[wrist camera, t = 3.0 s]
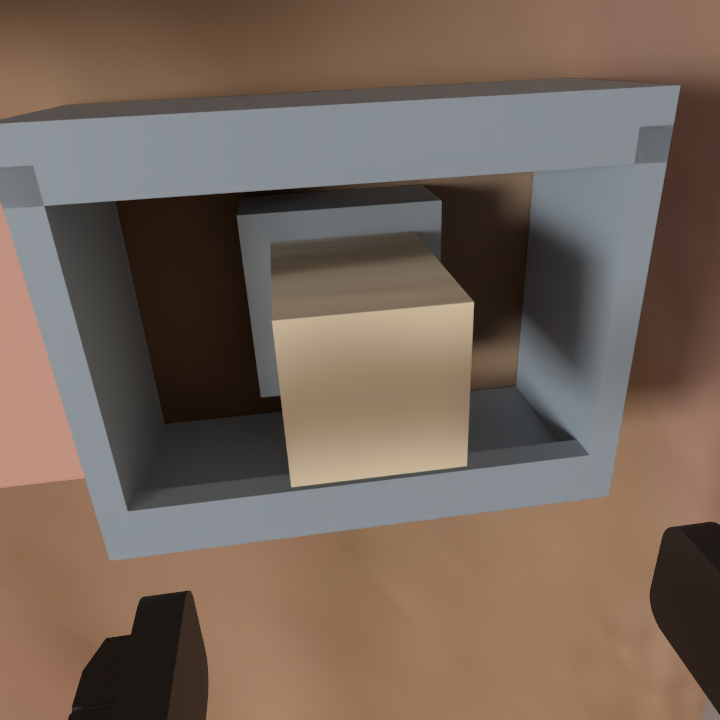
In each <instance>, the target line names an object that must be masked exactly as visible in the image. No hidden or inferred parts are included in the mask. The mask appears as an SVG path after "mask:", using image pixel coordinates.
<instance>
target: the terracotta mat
mask: <svg viewBox="0 0 720 720" xmlns="http://www.w3.org/2000/svg"><path fill="white" fill-rule="evenodd" d="M81 478H85V476H84V473H83V470H82V467H81V463H80V460H79V457H78V453H77V450H76V447H75V444H74V440H73V437H72V434H71V430H70V427H69V424H68V421H67V417H66V414H65V411H64V407H63V404H62V401H61V398H60V394H59V391H58V388H57V384H56V381H55V378H54V374H53V371H52V368H51V365H50V361H49V358H48V355H47V351H46V348H45V345H44V342H43V338H42V335H41V332H40V328H39V325H38V322H37V319H36V315H35V312H34V309H33V305H32V302H31V299H30V296H29V292H28V289H27V286H26V282H25V279H24V276H23V272H22V269H21V266H20V263H19V259H18V256H17V253H16V249H15V246H14V243H13V240H12V236H11V233H10V230H9V226H8V223H7V220H6V217H5V213H4V210H3V207H2V203H1V200H0V488H3V487H12V486H20V485H29V484H37V483H46V482H55V481H63V480H72V479H81Z"/></svg>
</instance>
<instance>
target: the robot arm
mask: <svg viewBox="0 0 720 720" xmlns="http://www.w3.org/2000/svg"><path fill="white" fill-rule="evenodd" d="M650 603H651V608H652V612H653V615H654V618H655V620H656V622H657V624H658V626H659V628H660V630H661V631H662V633H663V634H664V635H665V637H666V638H667V640H668V641H669V643H670V644H671V645H672V647H673V648H674V650H675V651H676V653H677V654H678V656H679V657H680V658H681V660H682V661H683V663H684V664H685V666H686V667H687V668H688V670H689V671H690V673H691V674H692V676H693V677H694V678H695V680H696V681H697V683H698V684H699V686H700V687H701V689H702V690H703V691H704V693H705V694H706V696H707V697H708V699H709V700H710V701H711V703H712V704H713V706H714V707H715V709H716V710H717V711H718V713H719V714H720V525H719V524H717V523H715V522H705V523H698V524H691V525H683V526H676V527H669V528H667V529H666V530H665V532H664V534H663V537H662V541H661V545H660V549H659V554H658V558H657V562H656V567H655V571H654V575H653V580H652V584H651V588H650ZM207 701H208V665H207V657H206V651H205V647H204V642H203V638H202V633H201V629H200V625H199V620H198V616H197V611H196V607H195V602H194V598H193V595H192V593H191V591H183V592H176V593H168V594H161V595H154V596H146V597H142V598H141V599H140V601H139V604H138V607H137V611H136V615H135V619H134V624H133V628H132V632H131V635H126V636H119V637H112V638H106V639H105V641H104V642H103V643H102V645H101V646H100V648H99V649H98V650H97V652H96V653H95V655H94V656H93V657H92V659H91V660H90V661H89V663H88V664H87V666H86V667H85V668H84V670H83V672H82V675H81V678H80V682H79V685H78V688H77V692H76V695H75V698H74V702H73V705H72V714H70V715H69V718H68V720H206V712H207Z"/></svg>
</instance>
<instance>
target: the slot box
mask: <svg viewBox="0 0 720 720" xmlns="http://www.w3.org/2000/svg"><path fill="white" fill-rule="evenodd" d="M680 86H681V85H671V84H655V83H639V82H624V81H608V80H592V79H576V78H557V79H538V80H520V81H501V82H483V83H464V84H446V85H427V86H409V87H390V88H372V89H353V90H335V91H317V92H298V93H280V94H261V95H243V96H224V97H206V98H187V99H169V100H150V101H132V102H114V103H95V104H77V105H62V106H58V107H54V108H49V109H45V110H41V111H36V112H32V113H27V114H23V115H19V116H14V117H10V118H6V119H1V120H0V200H1V203H2V207H3V210H4V213H5V217H6V220H7V223H8V226H9V230H10V233H11V236H12V240H13V243H14V246H15V249H16V253H17V256H18V259H19V263H20V266H21V269H22V272H23V276H24V279H25V282H26V286H27V289H28V292H29V296H30V299H31V302H32V305H33V309H34V312H35V315H36V319H37V322H38V325H39V328H40V332H41V335H42V338H43V342H44V345H45V348H46V351H47V355H48V358H49V361H50V365H51V368H52V371H53V374H54V378H55V381H56V384H57V388H58V391H59V394H60V398H61V401H62V404H63V407H64V411H65V414H66V417H67V421H68V424H69V427H70V430H71V434H72V437H73V440H74V444H75V447H76V450H77V453H78V457H79V460H80V463H81V467H82V470H83V473H84V476H85V480H86V483H87V486H88V490H89V493H90V496H91V499H92V503H93V506H94V509H95V513H96V516H97V519H98V523H99V526H100V529H101V532H102V536H103V539H104V542H105V546H106V549H107V552H108V555H109V559H110V561H113V560H121V559H129V558H136V557H144V556H152V555H159V554H167V553H175V552H183V551H190V550H198V549H206V548H213V547H221V546H229V545H237V544H244V543H252V542H260V541H267V540H275V539H283V538H290V537H298V536H306V535H314V534H321V533H329V532H337V531H344V530H352V529H360V528H368V527H375V526H383V525H391V524H398V523H406V522H414V521H422V520H429V519H437V518H445V517H452V516H460V515H468V514H475V513H483V512H491V511H499V510H506V509H514V508H522V507H529V506H537V505H545V504H553V503H560V502H568V501H576V500H583V499H591V498H599V497H607V496H609V490H610V484H611V479H612V473H613V467H614V462H615V456H616V450H617V445H618V439H619V433H620V427H621V422H622V416H623V410H624V405H625V399H626V393H627V388H628V382H629V376H630V371H631V365H632V359H633V354H634V348H635V342H636V336H637V331H638V325H639V319H640V314H641V308H642V302H643V297H644V291H645V285H646V280H647V274H648V268H649V263H650V257H651V251H652V245H653V240H654V234H655V228H656V223H657V217H658V211H659V206H660V200H661V194H662V189H663V183H664V177H665V172H666V166H667V160H668V154H669V149H670V143H671V137H672V132H673V126H674V120H675V115H676V109H677V103H678V98H679V92H680ZM533 171H534V173H533V185H532V197H531V210H530V222H529V234H528V246H527V258H526V271H525V283H524V295H523V307H522V319H521V332H520V344H519V356H518V368H517V380H516V386H512V387H503V388H494V389H485V390H476V391H470V407H469V430H468V453H467V466H464V467H456V468H448V469H439V470H431V471H423V472H415V473H406V474H398V475H390V476H382V477H373V478H365V479H357V480H349V481H340V482H332V483H324V484H316V485H307V486H299V487H291V481H290V472H289V464H288V455H287V446H286V438H285V429H284V421H283V412H282V411H281V412H272V413H263V414H254V415H244V416H235V417H226V418H217V419H207V420H198V421H189V422H180V423H170V424H165V423H164V419H163V414H162V409H161V405H160V400H159V396H158V391H157V387H156V382H155V378H154V373H153V369H152V364H151V360H150V355H149V351H148V346H147V341H146V337H145V332H144V328H143V323H142V319H141V314H140V310H139V305H138V301H137V296H136V292H135V287H134V283H133V278H132V273H131V269H130V264H129V260H128V255H127V251H126V246H125V242H124V237H123V233H122V228H121V224H120V219H119V214H118V210H117V205H116V201H121V200H135V199H149V198H163V197H178V196H192V195H206V194H220V193H234V192H249V191H263V190H277V189H291V188H305V187H320V186H334V185H348V184H362V183H376V182H391V181H405V180H419V179H433V178H447V177H462V176H476V175H490V174H504V173H518V172H533ZM441 216H442V200H441V199H439V198H438V197H437V196H436V195H435V194H433V193H432V192H431V191H430V190H428V189H427V188H426V187H425V186H423V185H422V184H421V185H407V186H393V187H379V188H365V189H351V190H337V191H323V192H309V193H295V194H281V195H267V196H253V197H240V200H239V205H238V210H237V223H238V230H239V238H240V245H241V253H242V260H243V268H244V275H245V283H246V290H247V298H248V305H249V313H250V320H251V327H252V335H253V342H254V350H255V357H256V365H257V372H258V380H259V387H260V395H261V398H262V397H272V396H281V395H280V387H279V378H278V370H277V361H276V352H275V344H274V335H273V327H272V308H271V264H270V243H272V242H284V241H297V240H309V239H322V238H335V237H347V236H360V235H372V234H385V233H398V232H410V231H414V232H415V234H416V235H417V236H418V237H419V238H420V239H421V241H422V242H423V243H424V244H425V245H426V246H427V248H428V249H429V250H430V251H431V252H432V253H433V255H434V256H435V257H436V258H437V259H438V260H439V262H440V263H441Z"/></svg>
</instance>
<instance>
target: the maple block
mask: <svg viewBox="0 0 720 720" xmlns="http://www.w3.org/2000/svg"><path fill="white" fill-rule="evenodd" d="M270 264H271V308H272V327H273V335H274V344H275V352H276V361H277V370H278V378H279V387H280V395H281V404H282V412H283V421H284V429H285V438H286V446H287V455H288V464H289V472H290V481H291V487H299V486H307V485H316V484H324V483H332V482H340V481H349V480H357V479H365V478H373V477H382V476H390V475H398V474H406V473H415V472H423V471H431V470H439V469H448V468H456V467H464V466H467V453H468V430H469V407H470V384H471V361H472V338H473V315H474V301H473V300H472V299H471V298H470V297H469V295H468V294H467V293H466V292H465V291H464V290H463V288H462V287H461V286H460V285H459V284H458V283H457V281H456V280H455V279H454V278H453V277H452V276H451V274H450V273H449V272H448V271H447V270H446V269H445V267H444V266H443V265H442V264H441V263H440V262H439V260H438V259H437V258H436V257H435V256H434V255H433V253H432V252H431V251H430V250H429V249H428V248H427V246H426V245H425V244H424V243H423V242H422V241H421V239H420V238H419V237H418V236H417V235H416V234H415V232H414V231H410V232H398V233H385V234H372V235H360V236H347V237H335V238H322V239H309V240H297V241H284V242H272V243H270Z"/></svg>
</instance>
